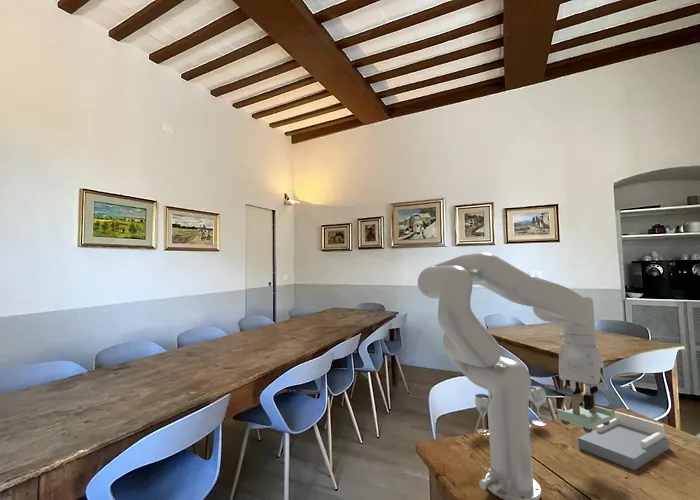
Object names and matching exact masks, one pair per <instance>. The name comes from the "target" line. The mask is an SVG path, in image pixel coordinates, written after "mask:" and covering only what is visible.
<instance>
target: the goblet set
mask: <svg viewBox="0 0 700 500" xmlns="http://www.w3.org/2000/svg"><path fill="white" fill-rule="evenodd" d="M487 391H488V390H487ZM474 396H475V397H474V403H475V407H476V409H477V411H478V412H479V414H480V415H481V419H482V428H479V429H477V430H476V432H477V433H478V434H479V433H480V432H486V431H489V429H486V428H485V418H486V417H485V416H486V414H488V407H489V404H490V402H491V400H492V397H493V393H492V392H490V391H488V393H487V394H484V393H477V394H475V395H474ZM546 400H547V394H546V390H545V388H543V387H541V386H537V385H536V386H535V385H531V389H530V396H529V401H531V402H532V403H533V404H534V406H535V407H536V411H537V412H536V413H537V419H532V420H531V423H532V424H534V425H537V426H547V422H546V423H543V422H545V421H544V420H541V419H540V407H541V405H542V404H544V403H545V402H546ZM531 423H529V426H530V428H531V427H532V424H531ZM481 435H484V436H489V433H487V435H486V434H481Z"/></svg>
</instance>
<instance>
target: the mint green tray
mask: <svg viewBox="0 0 700 500" xmlns="http://www.w3.org/2000/svg"><path fill="white" fill-rule="evenodd" d="M584 394H585V391H582V393H578V394H575V395H573V394H571V395H570V402H571V403H572V404H571V405H572V408H570V409H567V410H563V409H560V408H557V409H556V410H557V411H556V412H557V414H556V415H557V419H559V420H560V422H561V423H562V424H563V425H565V426H566V425H567V426H568V425H569V424H574V425H576V426H579V427H582V429H583V431H584V432H585V433H586V434H587V433H590V432H592V431H593V428H596V426H598V425H601V424H603V425H609V423H610V422H609V421H610V420H613V418H614V417H613V410H611V409H609V408H608V409H607V408H604V407H600V406H597V405H596V399H597V398H596V397H597V392H596V393H595V394H593V395H594V407H593V408H592V409H590V410H585V409H584ZM582 402H583V405H582V406H580V405H579V403H582Z"/></svg>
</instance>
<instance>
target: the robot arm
mask: <svg viewBox="0 0 700 500" xmlns="http://www.w3.org/2000/svg"><path fill="white" fill-rule="evenodd" d="M475 285H476V286H477V285H478V286H480V287H484V288H485V289H487V290H489V291H491V292H492V293H495V294H496V295H498V296H501V297H502V298H503V299H506V300H507V301H509V302H511V303H514V304H518V305H521V306H526V307H530V308H531V307H532V310H533V314H534V316H536V317H537V318H538V319H540V320H541V321H544V322H547V323H553V324H554V323H555V324H561V325H562V330H563V331H562V333H561V332H560V333H559V338H561V339H562V340H563V342H560V345H559V351H558V374H559V376H558V378H559V380H561V381H563V382H564V383H566V384H567V386H569V388H570V391H571V392H572V395H575V394H578V393H582V392H583V390H581V384H583V385H584V388H585V389H584V390H585V391H584V392H585V394H584V409H585V410H590V409H592V408H593V407H594V395H593V394H595V393H596V394H597V393H598V392H600V391H607V390H608V389H609V386H608V384H607V382H606V373H605V367H604V366H605V365H604V361H603V356H602V352H601V350H600V347H599V346H597V338H596V336H597V335H596V325H595V324H596V323H595V311H594V309H595V308H594V301H593V298H592V297H590V296H587V295H581V294H579V293H578V292H576V291H574V290H573V289H570V288H569V287H566V286H564V285H561V284H558V283H555V282H553V281H550V280H546V279H543V278H540V277H538V276H535V275H531V274H529V273H526V272H525V271H523V270H521V269H519V268H517V267H516V266H514V265H512V264H510V263H509V262H507V261H506V260H504V259H502V258H500V256H498V255H494V254H493V253H490V252H477V253H467V254H463V255H459V256H456V257H454V258H451V259H448V260H445V261H442V262H439V263H437V264H434V265H431V266H428V267H426V268H424V269H423V270H422V271H421V272H420V274H419V275H418V278H417V287H418V290H419V291H420V293H421V294H422V295H424V296H425V297H427V298H430V299H437V300H438V305H437V319H438V321H437V322H438V324H439V326H440V328H441V330H442V331H443V333H444V334H443V337H442V346H443V347H442V348H443V349H444V352H445V354H446V356H447V357H448V358H449V359H450V360H451V362H452V363H453V364H454V365H455V366H456V368H458V369H459V371H461V373H462V374H463V375H464V377H466V378H467V379H468V380H469V381H470V382H471V383H473V384H474V385H476V386H477V387H480V388H482V389H484V390H486V391H490V392H492V393H493V397H492V400H491V402H490V404H489V407H488V411H487V422H488V423H487V424H488V430H489V435H488V438H489V441H488V442H489V455H490V456H489V457H490V458H489V459H490V468H488V472H487V473H486V475H485V477H484V478H482V479H480V480H479V481H478V485H479V487H480V489H482V490H486V489H488V490H489V491H490V492H491V493H492V494H493V495H495V496H496V497H498V498H500V499H501V500H540V498H541V496H542V489H541V486H540V484H539V483H538V482H537V481H536V480H535V479H534V475H533V474H534V473H533V472H534V471H533V459H532V458H533V457H532V443H531V441H532V440H531V430H530V428H531V427H530V426H529V424H530V413H529V412H530V411H529V408H530V407H529V405H530V404H529V402H530V399H529V396H530V389H531V386H532V378H531V374H530V372H529V371H528V369H527V368H526V367H525V366H524V365H523V364H521V362H519V361H517V360H514V359H511V358H508V357H505V356H501V355H502V354H501V353H502V351H501V347H500V345H499V343H498V341H497V340H496V339H495V337H494V336H493V335H492V334H491V333H490V331H489V330H488V329H487V328H486V327H485V326H484V325H483V324H482V323H481V321H480V320H479V318H477V316H476V315H475V313H474V312H473V310H472V306H471V296H472V292H473V286H475ZM579 405H580V406H582V405H583V402H582V403H579Z"/></svg>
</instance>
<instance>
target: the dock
mask: <svg viewBox="0 0 700 500" xmlns="http://www.w3.org/2000/svg"><path fill="white" fill-rule="evenodd" d="M612 418H613V420H610V421H609V422H610V423H609V425H603V424H601V425H598V426H596V427H595V429H594V430H592V432H590V433H587V432H586V433H585V434H582V435H581V436H579V437H577V444H578V446H577V447H578V449H580V450H582V451H584V452H588V453H590V454H592V455H595V456H598V457H600V458H603V459H605V460H607V461H610V462H613V463H615V464H618V465H620V466H623V467H625V468H626V469H627V468H628V469H630V470H632V471H637V470H638V469H639V468H641V467H643V466H644V465H645V464H647V463H649V462H650V461H652V460H654V459H656V458H657V457H658V456H660V455H662V454H663V453H665V452H666V451H668V450H669V449H670V442H669V437H666V435H665V426H664V424H662V423H660V422H659V423H658V422H656V421H652V420H648V419H644V418H641V417H637V416H634V415H631V414H626V413H623V412H619V411H614V417H612Z"/></svg>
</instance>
